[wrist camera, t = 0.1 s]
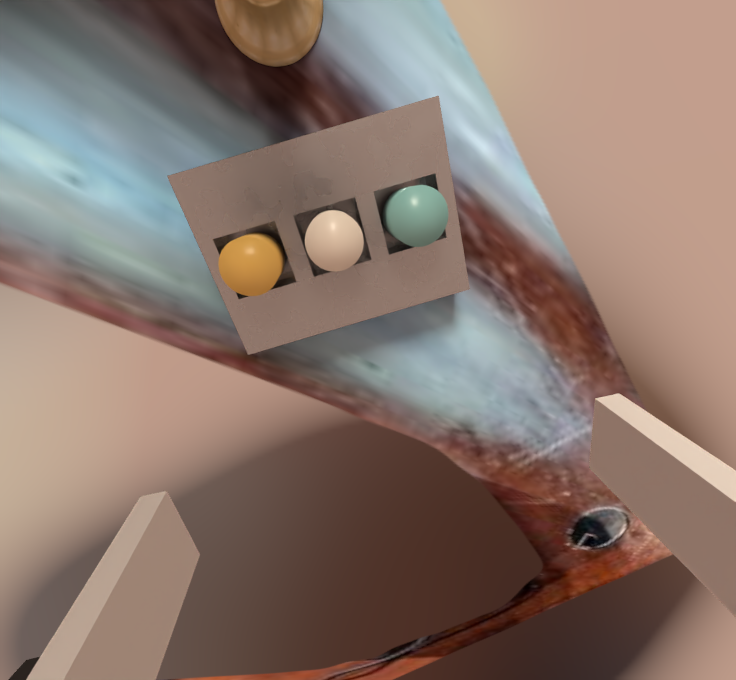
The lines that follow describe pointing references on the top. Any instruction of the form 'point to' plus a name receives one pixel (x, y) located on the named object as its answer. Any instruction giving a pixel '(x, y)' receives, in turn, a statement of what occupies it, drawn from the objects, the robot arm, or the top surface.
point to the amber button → (251, 263)
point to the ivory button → (334, 240)
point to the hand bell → (272, 28)
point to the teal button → (415, 215)
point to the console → (320, 193)
